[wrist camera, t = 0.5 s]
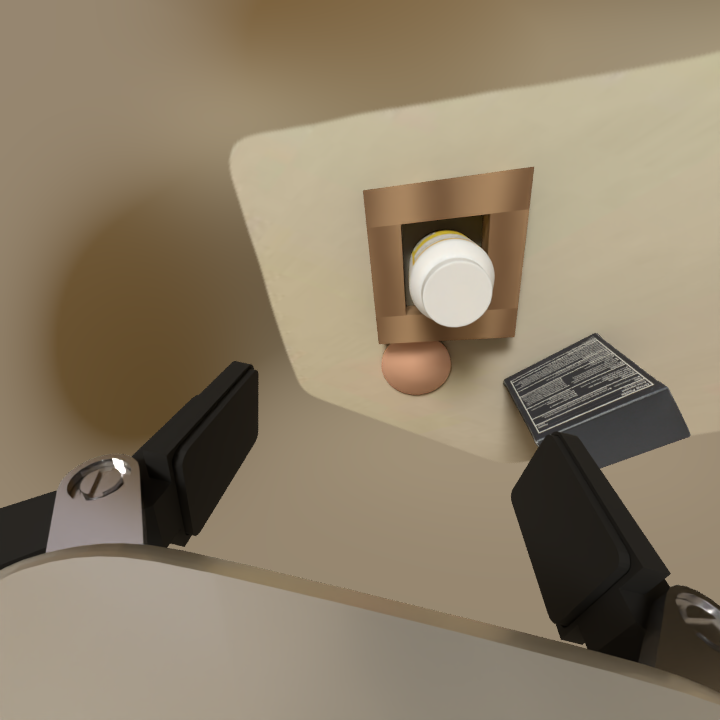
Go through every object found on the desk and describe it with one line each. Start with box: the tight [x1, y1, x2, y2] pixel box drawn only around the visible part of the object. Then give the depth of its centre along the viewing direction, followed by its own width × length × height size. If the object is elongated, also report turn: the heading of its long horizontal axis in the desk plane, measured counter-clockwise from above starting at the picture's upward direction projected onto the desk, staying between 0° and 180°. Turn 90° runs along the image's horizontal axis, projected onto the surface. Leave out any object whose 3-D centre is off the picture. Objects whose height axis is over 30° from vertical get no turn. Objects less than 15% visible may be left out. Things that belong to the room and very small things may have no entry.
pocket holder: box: [363, 167, 534, 344], centre depth 30 cm, size 14×14×3 cm
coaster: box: [382, 341, 451, 395], centre depth 37 cm, size 8×8×1 cm
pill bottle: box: [409, 229, 495, 327], centre depth 27 cm, size 6×6×12 cm
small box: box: [504, 333, 690, 468], centre depth 31 cm, size 11×6×10 cm, turn 129°
